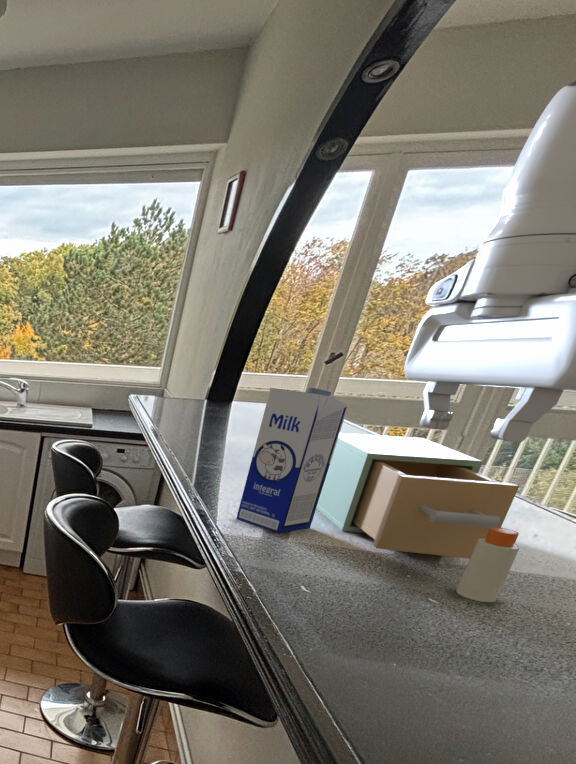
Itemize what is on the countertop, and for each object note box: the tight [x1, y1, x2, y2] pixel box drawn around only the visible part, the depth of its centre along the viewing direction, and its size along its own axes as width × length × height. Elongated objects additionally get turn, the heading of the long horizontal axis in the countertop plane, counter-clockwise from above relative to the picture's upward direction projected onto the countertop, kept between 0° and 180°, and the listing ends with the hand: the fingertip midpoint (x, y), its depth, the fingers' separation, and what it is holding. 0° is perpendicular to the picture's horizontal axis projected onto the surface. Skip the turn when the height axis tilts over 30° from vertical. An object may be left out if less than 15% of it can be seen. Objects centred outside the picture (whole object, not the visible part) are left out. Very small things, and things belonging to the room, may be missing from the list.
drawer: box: [352, 459, 520, 560], centre depth 78 cm, size 19×11×10 cm, turn 160°
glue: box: [455, 527, 520, 603], centre depth 65 cm, size 3×3×8 cm
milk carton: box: [236, 387, 350, 534], centre depth 85 cm, size 7×7×20 cm
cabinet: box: [316, 432, 483, 534], centre depth 89 cm, size 16×13×12 cm
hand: (466, 434), depth 57 cm, fingers open, 8 cm apart
